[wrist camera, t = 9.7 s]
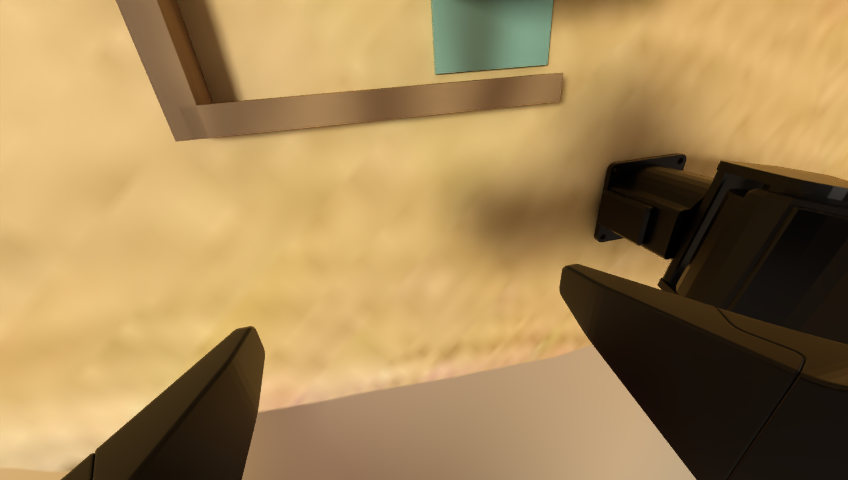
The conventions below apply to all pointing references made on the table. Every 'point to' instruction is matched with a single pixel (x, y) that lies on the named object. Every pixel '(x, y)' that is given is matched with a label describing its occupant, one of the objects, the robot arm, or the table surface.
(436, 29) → the bay
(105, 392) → the table surface
